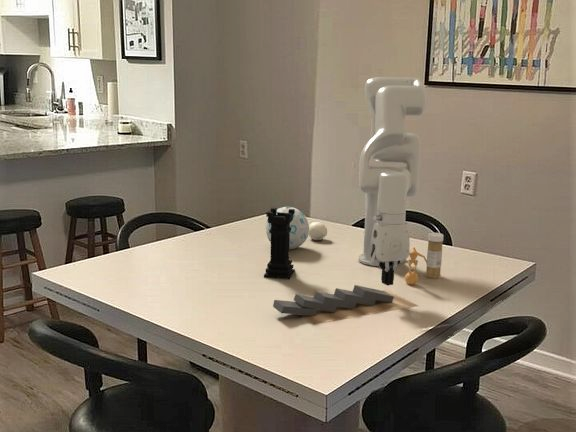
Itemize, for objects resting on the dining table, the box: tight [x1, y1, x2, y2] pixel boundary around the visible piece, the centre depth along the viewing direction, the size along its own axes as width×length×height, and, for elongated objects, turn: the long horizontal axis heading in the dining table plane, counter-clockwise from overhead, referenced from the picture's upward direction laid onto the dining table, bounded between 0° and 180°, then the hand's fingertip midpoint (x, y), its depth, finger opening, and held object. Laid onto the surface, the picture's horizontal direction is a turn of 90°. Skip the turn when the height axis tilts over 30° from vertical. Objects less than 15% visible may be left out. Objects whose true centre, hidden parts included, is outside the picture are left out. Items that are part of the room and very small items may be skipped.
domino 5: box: [352, 284, 394, 303], centre depth 175 cm, size 2×5×10 cm
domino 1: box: [272, 299, 317, 316], centre depth 165 cm, size 2×5×10 cm
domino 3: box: [313, 290, 356, 309], centre depth 170 cm, size 2×5×10 cm
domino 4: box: [334, 288, 376, 306], centre depth 173 cm, size 2×5×10 cm
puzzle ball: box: [265, 206, 310, 251], centre depth 226 cm, size 15×15×15 cm
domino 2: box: [293, 293, 337, 313], centre depth 168 cm, size 2×5×10 cm
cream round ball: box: [308, 221, 328, 241], centre depth 240 cm, size 7×7×7 cm
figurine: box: [404, 246, 427, 286], centre depth 190 cm, size 8×6×12 cm
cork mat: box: [301, 289, 419, 325], centre depth 173 cm, size 32×14×1 cm, turn 116°
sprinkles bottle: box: [425, 232, 444, 279], centre depth 199 cm, size 5×5×14 cm
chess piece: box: [263, 207, 296, 281], centre depth 197 cm, size 8×8×20 cm
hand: (387, 283), depth 177 cm, fingers closed
